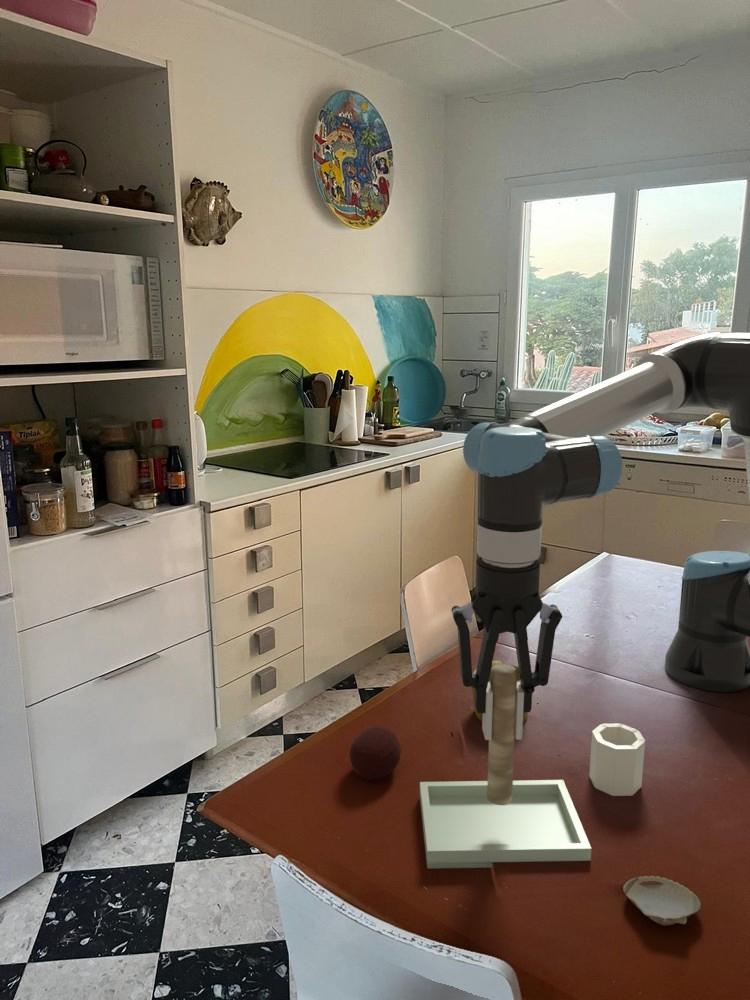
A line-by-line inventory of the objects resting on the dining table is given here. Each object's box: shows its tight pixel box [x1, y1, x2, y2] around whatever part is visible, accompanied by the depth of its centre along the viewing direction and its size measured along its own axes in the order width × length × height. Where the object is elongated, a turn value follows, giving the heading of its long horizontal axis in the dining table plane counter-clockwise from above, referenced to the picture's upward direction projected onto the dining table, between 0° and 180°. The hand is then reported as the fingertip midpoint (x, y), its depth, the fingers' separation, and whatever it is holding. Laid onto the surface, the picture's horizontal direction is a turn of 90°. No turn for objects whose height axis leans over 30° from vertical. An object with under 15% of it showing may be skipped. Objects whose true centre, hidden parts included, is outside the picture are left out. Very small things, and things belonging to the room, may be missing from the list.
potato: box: [349, 725, 402, 781], centre depth 113 cm, size 7×10×6 cm
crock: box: [588, 722, 646, 797], centre depth 109 cm, size 7×7×8 cm
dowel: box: [487, 663, 517, 805], centre depth 97 cm, size 3×3×18 cm
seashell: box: [622, 875, 702, 926], centre depth 87 cm, size 8×3×8 cm
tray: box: [419, 779, 593, 870], centre depth 100 cm, size 20×14×2 cm
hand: (501, 733), depth 97 cm, fingers closed on dowel, 3 cm apart
